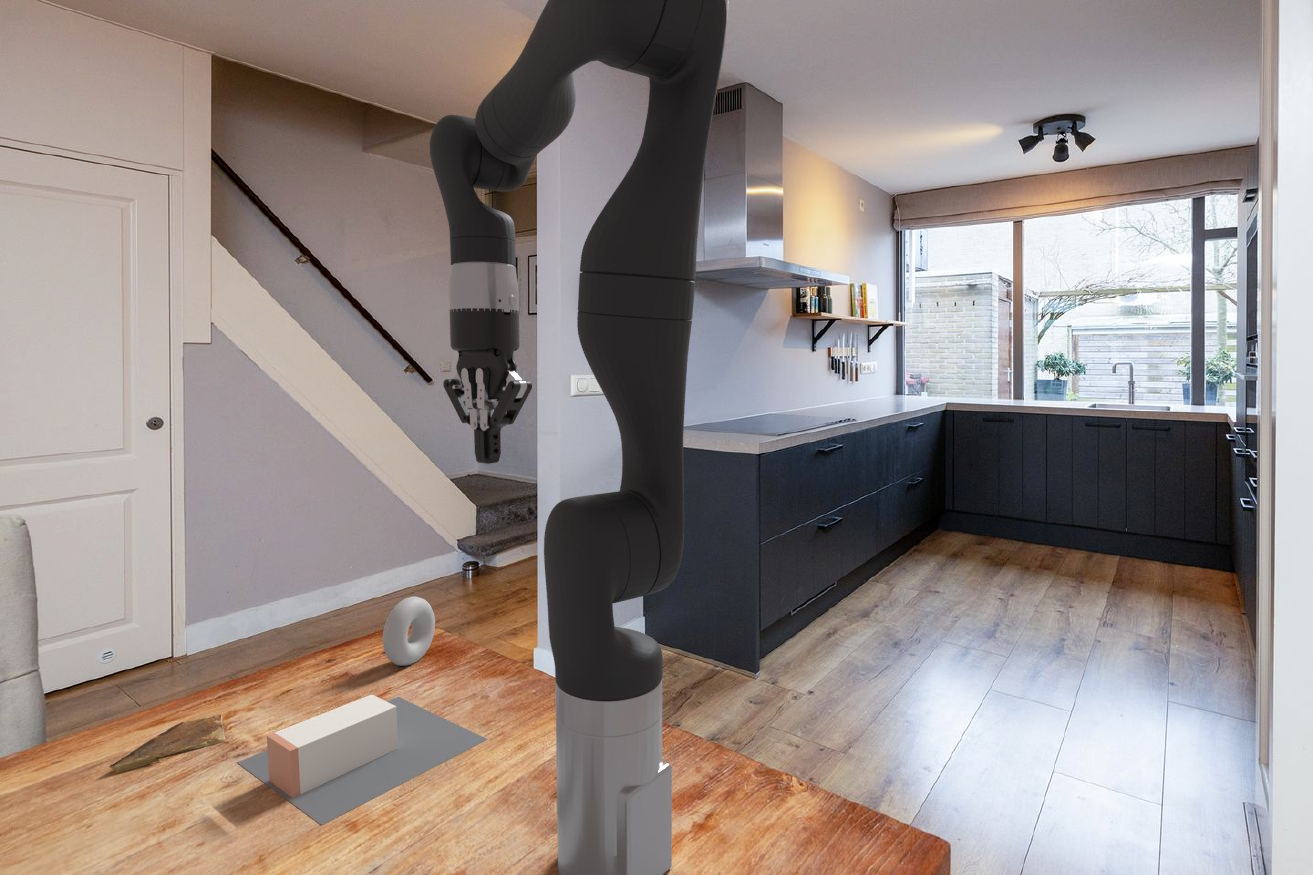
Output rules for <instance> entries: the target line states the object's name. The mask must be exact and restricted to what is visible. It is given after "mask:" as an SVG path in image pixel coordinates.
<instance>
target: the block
mask: <svg viewBox="0 0 1313 875" xmlns="http://www.w3.org/2000/svg"><path fill="white" fill-rule="evenodd" d="M386 701H387V700H385V699H382V698H380V697H378V696H376V695H374V694H369V695H367V696H364V697H362V698H359V699H357V700H354V701H351V702H349V703H347V704H344V705H342V706H339V707H336V708H334V709H331V710H328V711H326V712H323V713H320V714H319V715H318V714H317V715H316V716H312V717H311V718H308V719H306V720H303V721H301V722H297V723H295V724H293V725H290V726H288V727H285V728H283V729H281V730H278V731H275V732H272V733H270V734H267V735H266V750H267V751H268V768H269V781H270V782H271V783H273V784H274V785H275V786H277V787H278V788H279V789H281V790H282V791H284V792H285V793H286V794H288V795H289V796H290V797H292V798H294V797H296V796H298V795H300V794H303V793H305V792H307V791H309V790H311V789H313V788H315V787H317V786H320V785H322V784H324V783H326V782H328V781H330V780H332V779H334V778H337V777H339V776H341V775H343V774H345V773H347V772H349V771H351V770H353V769H356V768H358V767H360V766H362V765H364V764H366V763H368V762H370V761H373V760H375V759H377V758H379V757H381V756H383V755H385V754H387V753H389V752H392V751H394V750H396V749H398V732H397V706H395V705H393V704H391V703H388V702H386Z"/></svg>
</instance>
